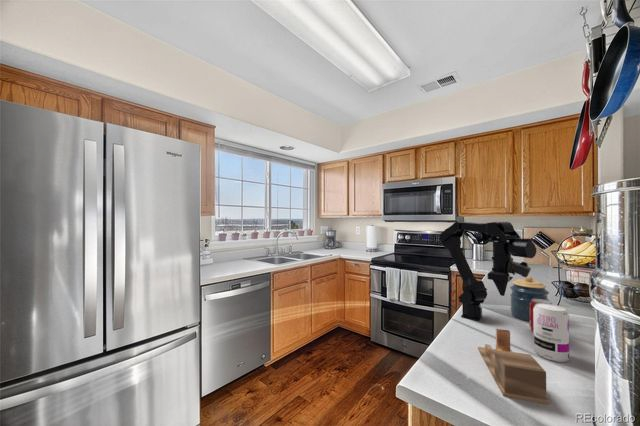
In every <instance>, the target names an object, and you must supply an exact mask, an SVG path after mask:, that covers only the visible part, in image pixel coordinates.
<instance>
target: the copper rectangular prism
mask: <svg viewBox="0 0 640 426" xmlns="http://www.w3.org/2000/svg"><path fill="white" fill-rule="evenodd" d="M495 349H496V350H501V351H509V352H510V349H511V331H510V330H507V329H501V328H500V329H499V328H495Z"/></svg>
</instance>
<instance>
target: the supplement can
mask: <svg viewBox="0 0 640 426" xmlns="http://www.w3.org/2000/svg"><path fill="white" fill-rule="evenodd" d="M569 317H570V315H569V313H568V311H567V310H566V308H565V307H562V306H560V305H555V304H553V303H552V304H544V303H538V304H536V306H535V307H534V308H533V331H534V332H533V351H534V352H535V353H536V354H537V355H538V356H540V357H541V358H543V359H546V360H548V361H552V362H557V363H565V362H567V361H569V360H570V320H569V319H570V318H569Z"/></svg>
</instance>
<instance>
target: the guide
mask: <svg viewBox="0 0 640 426" xmlns="http://www.w3.org/2000/svg"><path fill="white" fill-rule="evenodd" d="M477 350H478V352H479V354H480V355H481V358H482V359H483V362H484V364H485V365H486V367H487V368H488V370H489V372H490V374H491V376H492V378H493V380H494V381H495V383H496V385H497V387H498V389H499V391H500V393H501V394H502V396H503V397H509V398H513V399H514V398H515V399H520V400H524V401H530V402H534V403H540V404H541V403H542V404H545V405H550V400H549V399H548V397H547V371H546V370H545V369H544V368H543V367H542V365H540V363H539V362H538V361H536V359H535V358H534V357H533V356H532V355H531V354H528V353H521V352H515V351H513V350H512V349H511V348H510V352H509V351H501V350H496V348H492V346H491V345H490V344H484V347H482V346H477Z"/></svg>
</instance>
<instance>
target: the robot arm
mask: <svg viewBox="0 0 640 426" xmlns="http://www.w3.org/2000/svg"><path fill="white" fill-rule="evenodd" d="M465 231H466V232H476V233H484V234H485V235H487V236H490V237H489V238H488V239H487V240H486V241H487V242H488V243H492V257H491V260H492V267H491V271H489V272H488V273H487V280H491V281H493V283H494V284H495V287H496V289H497V291H498V294H499V295H500V296H502V297H505V295H506V290H507V287H508V286H507V285H508V283H509V282H510V281H511V280H512V279H514V277H513V276H510V274H512V275H514V276H515V275H517V274H518V275H519V276H521V277H523V278H525V277H527V276H529V274H530V272H531V270H532V268H531V267H530V266H529V265H528V262H527V261H522V262H520V263H519V262H515V261H514V258H513V257H519V258H526V259H533V258H534V257H536V254H537V248H536V245H535V243H534V242H533V238H530V237H529V238H527V237H526V238H522V237H521V236H520V235H519V234H518V232H517V231H516V230H515V229H514V226H513V224H512V223H511V222H509V221H492V222H471V221H470V222H469V221H462V220H461V221H459V220H458V221H455V222H453V224H451V225H450V226H449V227H447V228H445V229H444V230H443V231H442V232H441V233H440V234H439V242H440V243H441V244H442V246H443V247H444V249H446V250H448V252H449V253H450V255H451V258H452V260H453V263H454V265H455V266H456V269H457V271H458V274H459V277H461V280H462V288H461V289H462V291H463V292H462V293H461V294H460V295H458V297H457V298H458V302H459V303H462V304H461V305H462V308H461V309H462V311H461V312H462V314H461V318H465V319H469V320H473V321H480V320H481V319H482V318H483V307H482V305H481V304H484V302H485V300H486V299H487V296H488V292H487V290H488V289H487V288H486V286H485V284H484V281H483V280H478V279H477V278H476V277H475V275H474V273H473V271H472V269H471V267H470V265H469V262H468V261H467V259H466V257H465V254H464V252H463V250H462V249H461V248H462V247H461V246H462V240H461V238H462V237H463V236H464V233H465Z"/></svg>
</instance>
